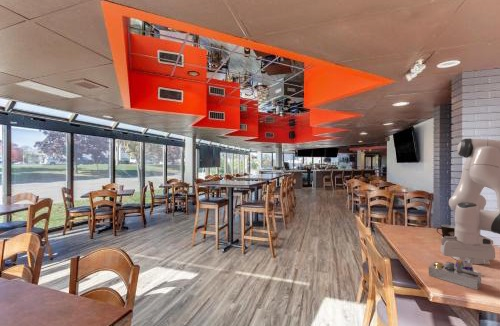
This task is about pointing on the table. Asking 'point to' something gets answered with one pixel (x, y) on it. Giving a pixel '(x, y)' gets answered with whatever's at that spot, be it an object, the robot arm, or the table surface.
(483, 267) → the table surface
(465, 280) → the panel
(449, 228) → the coffee mug
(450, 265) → the button slate
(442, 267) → the button brass
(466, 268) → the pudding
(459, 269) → the slider
